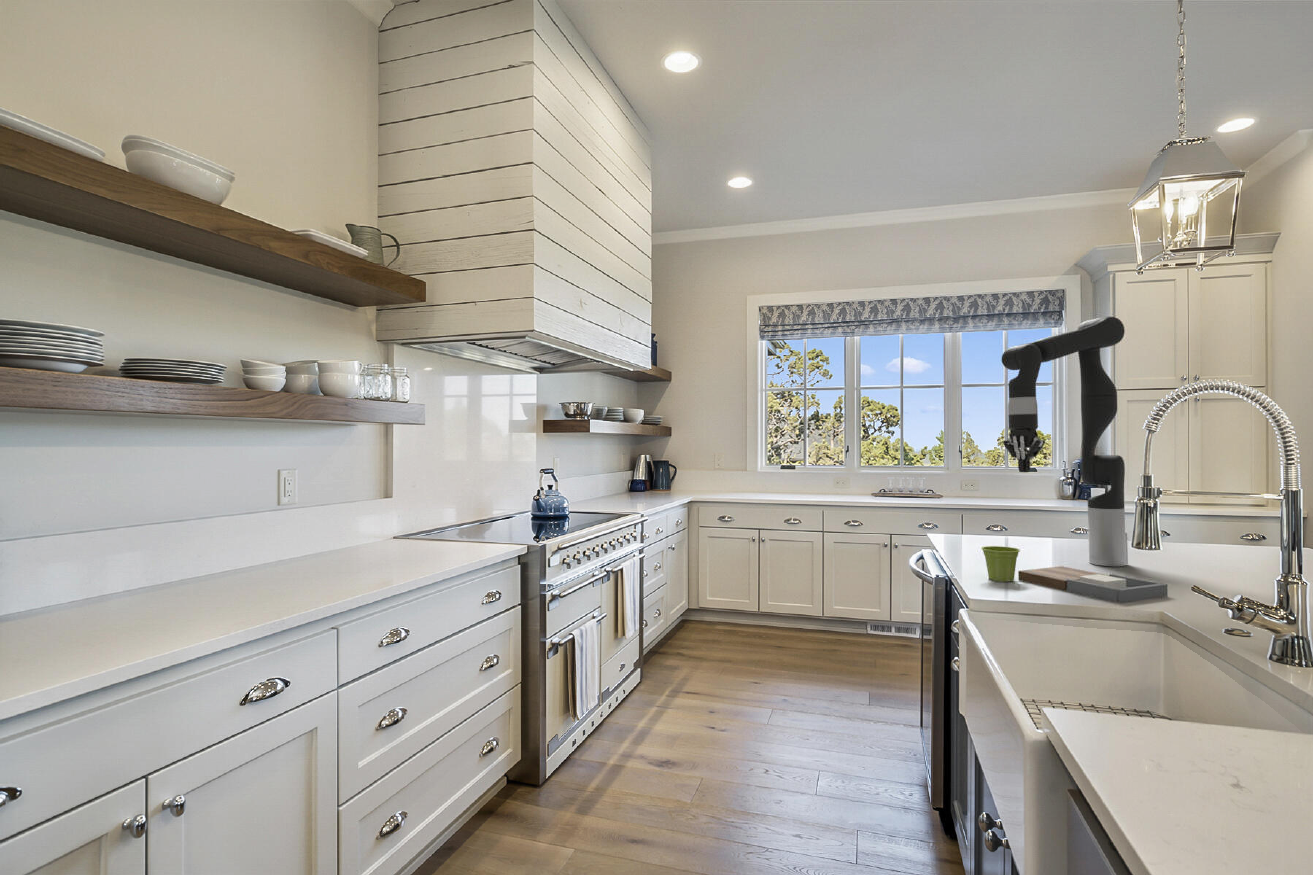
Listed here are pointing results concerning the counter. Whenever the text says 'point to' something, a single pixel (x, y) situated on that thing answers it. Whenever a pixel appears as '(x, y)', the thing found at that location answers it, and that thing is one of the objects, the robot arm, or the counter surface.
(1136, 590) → the tray
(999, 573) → the plant pot
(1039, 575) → the brown square board
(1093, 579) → the tile
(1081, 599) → the counter surface
